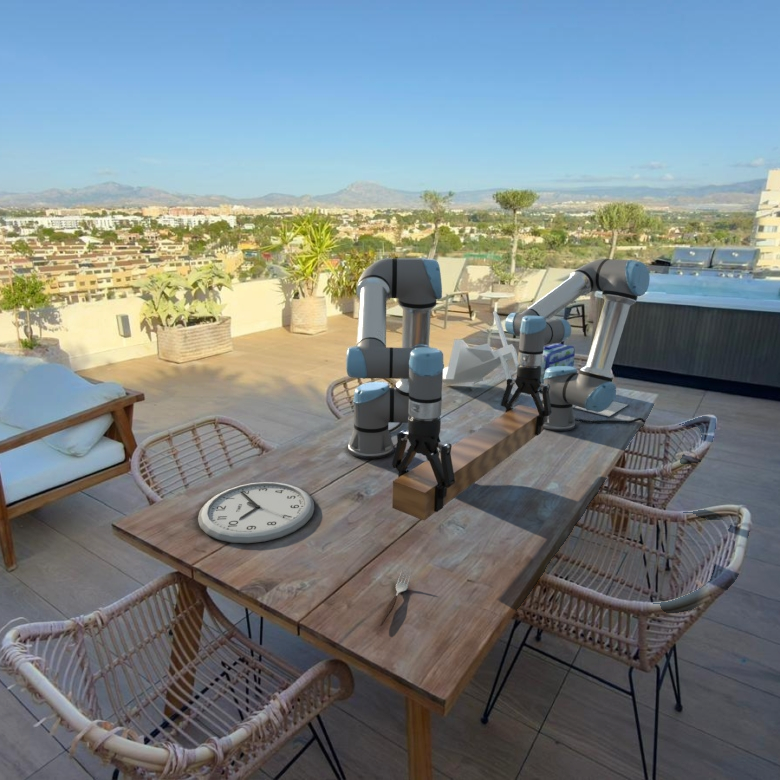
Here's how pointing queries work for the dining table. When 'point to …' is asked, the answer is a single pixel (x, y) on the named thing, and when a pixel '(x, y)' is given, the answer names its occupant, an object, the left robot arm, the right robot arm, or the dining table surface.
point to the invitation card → (608, 409)
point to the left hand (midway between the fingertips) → (421, 502)
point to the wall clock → (256, 512)
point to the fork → (400, 588)
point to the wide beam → (466, 461)
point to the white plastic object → (478, 360)
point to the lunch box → (556, 357)
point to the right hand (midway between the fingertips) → (523, 430)
